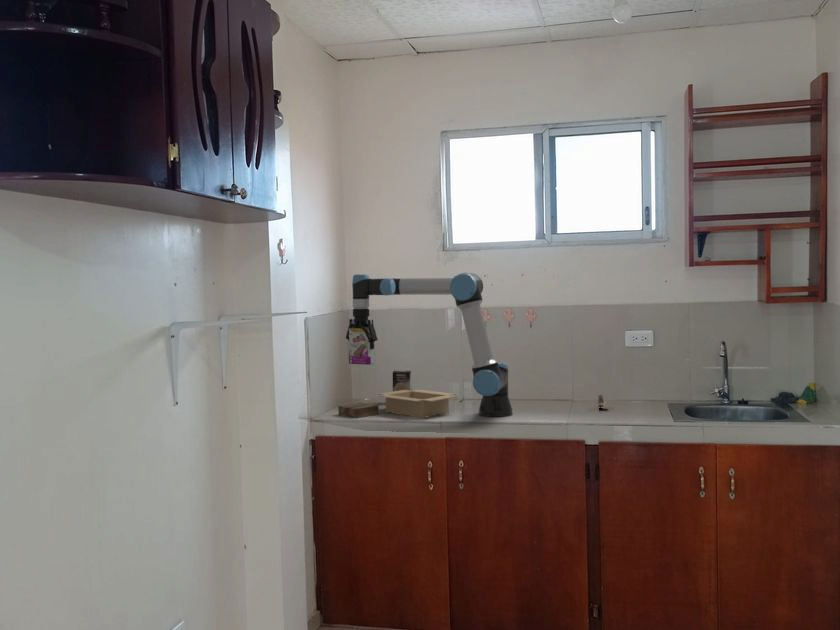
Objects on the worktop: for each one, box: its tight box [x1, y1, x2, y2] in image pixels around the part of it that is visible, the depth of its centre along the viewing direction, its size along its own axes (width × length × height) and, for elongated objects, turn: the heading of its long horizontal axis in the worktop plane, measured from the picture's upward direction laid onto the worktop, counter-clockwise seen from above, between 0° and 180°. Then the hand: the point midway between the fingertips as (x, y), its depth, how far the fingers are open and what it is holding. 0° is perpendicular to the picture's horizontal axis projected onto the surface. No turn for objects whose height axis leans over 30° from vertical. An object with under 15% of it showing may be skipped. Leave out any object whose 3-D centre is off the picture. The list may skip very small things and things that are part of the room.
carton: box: [378, 389, 458, 418], centre depth 349 cm, size 34×26×8 cm
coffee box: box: [392, 370, 412, 392], centre depth 376 cm, size 9×6×16 cm
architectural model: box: [597, 393, 607, 409], centre depth 348 cm, size 3×7×7 cm, turn 163°
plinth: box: [337, 402, 380, 419], centre depth 346 cm, size 13×13×4 cm
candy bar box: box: [348, 328, 376, 365], centre depth 345 cm, size 11×5×16 cm, turn 70°
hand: (361, 355), depth 345 cm, fingers closed on candy bar box, 12 cm apart
